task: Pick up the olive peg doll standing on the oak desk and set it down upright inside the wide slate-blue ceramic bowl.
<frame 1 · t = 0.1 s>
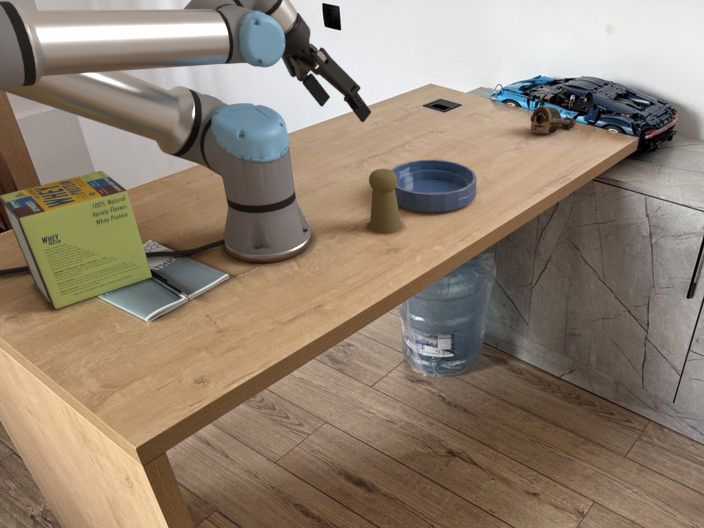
hand: (345, 109, 138), 15 cm above the table, tool tilted 35°, fingers open, 13 cm apart
bowl: (432, 196, 141), on the table
protein box: (94, 281, 111), on the table
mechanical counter: (553, 133, 175), on the table
olive peg doll: (385, 227, 130), on the table
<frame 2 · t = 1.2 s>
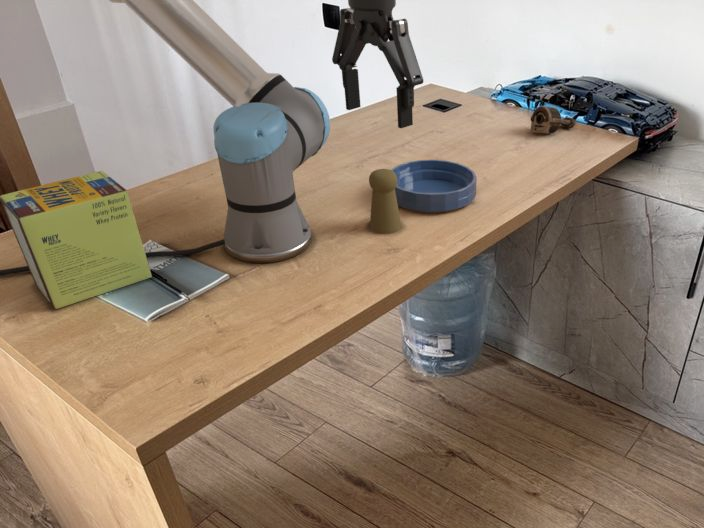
hand: (378, 117, 118), 21 cm above the table, tool pointing down, fingers open, 13 cm apart
nothing on the table moved.
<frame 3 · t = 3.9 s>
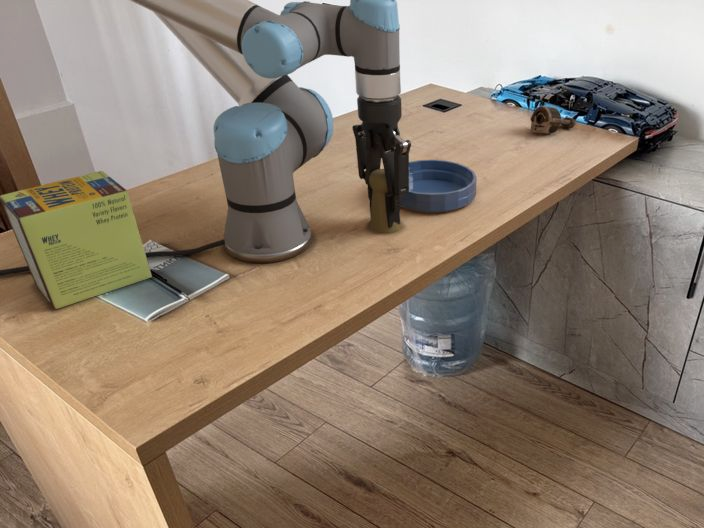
hand: (385, 220, 129), 1 cm above the table, tool pointing down, fingers closed on olive peg doll, 4 cm apart
olive peg doll: (385, 227, 130), on the table, touching gripper
everything else where it was.
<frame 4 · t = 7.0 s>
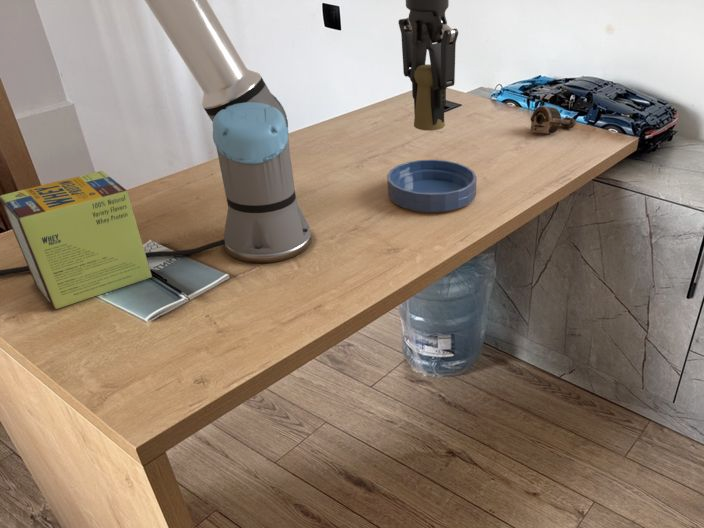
hand: (429, 119, 130), 16 cm above the table, tool pointing down, fingers closed on olive peg doll, 4 cm apart
olive peg doll: (429, 126, 131), point 15 cm above the table, touching gripper
everything else where it was.
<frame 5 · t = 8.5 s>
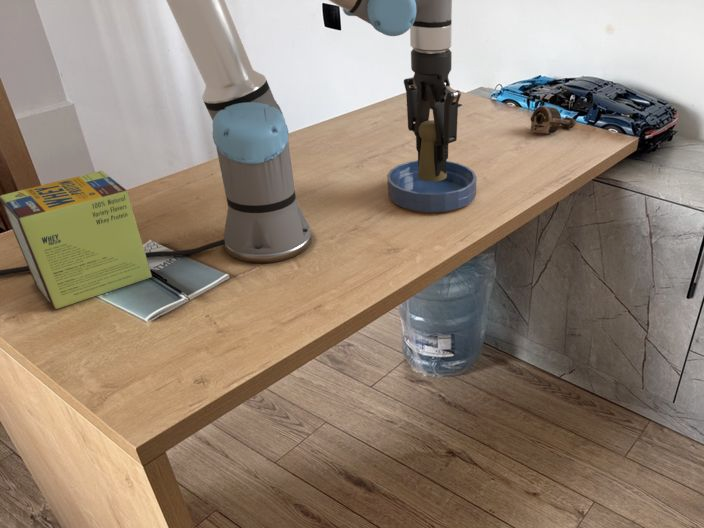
hand: (432, 170, 138), 6 cm above the table, tool pointing down, fingers closed on olive peg doll, 4 cm apart
olive peg doll: (432, 176, 138), point 4 cm above the table, touching gripper
everything else where it was.
when the fingers open (2 cm above the table, at t = 9.8 s): olive peg doll stays where it is, resting on bowl.
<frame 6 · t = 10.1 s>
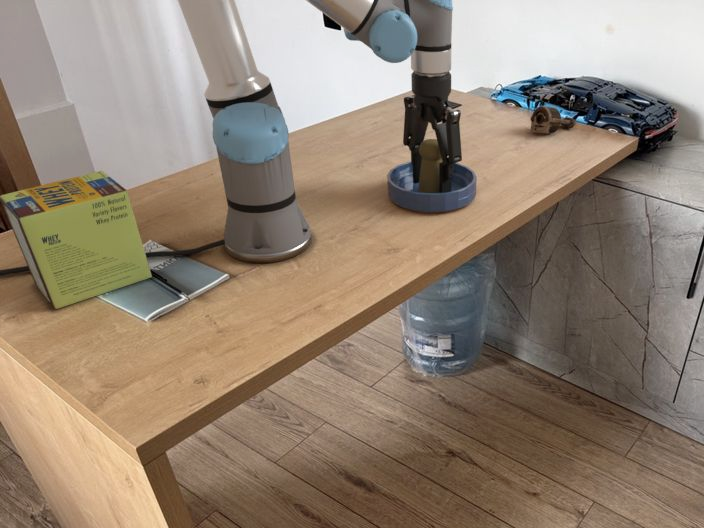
hand: (431, 187, 140), 2 cm above the table, tool pointing down, fingers open, 7 cm apart
olive peg doll: (432, 193, 141), point 1 cm above the table, touching bowl
everything else where it was.
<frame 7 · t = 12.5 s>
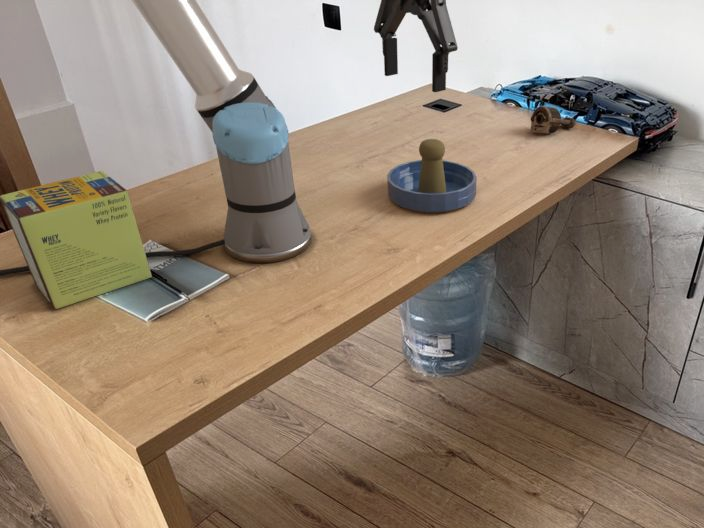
hand: (414, 82, 128), 23 cm above the table, tool pointing down, fingers open, 13 cm apart
nothing on the table moved.
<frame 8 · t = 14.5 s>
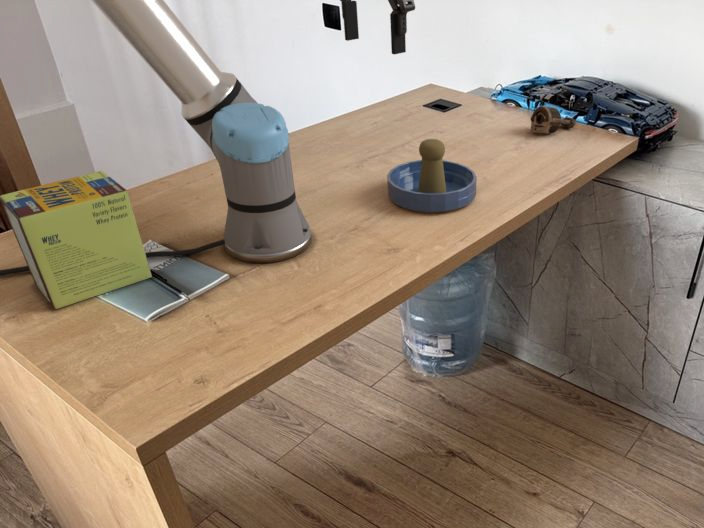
hand: (374, 46, 125), 29 cm above the table, tool pointing down, fingers open, 13 cm apart
nothing on the table moved.
at the end: olive peg doll inside the target area in the bowl (0.0 cm from its centre), point 0.6 cm above the bowl's base; olive peg doll tilted 0°; the gripper is holding nothing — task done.
